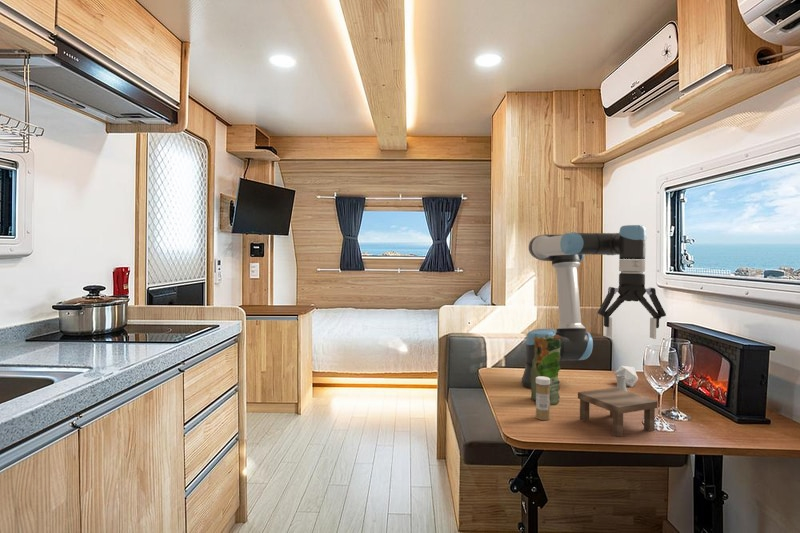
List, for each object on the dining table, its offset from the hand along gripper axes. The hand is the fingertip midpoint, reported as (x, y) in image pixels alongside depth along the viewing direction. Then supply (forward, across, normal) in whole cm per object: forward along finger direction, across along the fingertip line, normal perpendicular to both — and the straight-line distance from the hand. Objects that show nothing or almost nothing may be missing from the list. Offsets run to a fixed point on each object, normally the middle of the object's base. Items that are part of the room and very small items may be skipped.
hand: (630, 337), depth 142 cm
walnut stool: (+27, -6, -6) cm, 28 cm away
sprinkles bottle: (+27, -28, -2) cm, 39 cm away
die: (+28, +16, +43) cm, 54 cm away
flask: (+28, +4, +18) cm, 33 cm away
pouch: (+28, -23, +16) cm, 39 cm away
